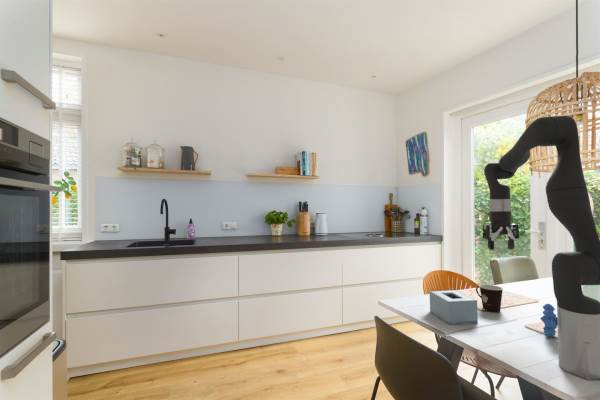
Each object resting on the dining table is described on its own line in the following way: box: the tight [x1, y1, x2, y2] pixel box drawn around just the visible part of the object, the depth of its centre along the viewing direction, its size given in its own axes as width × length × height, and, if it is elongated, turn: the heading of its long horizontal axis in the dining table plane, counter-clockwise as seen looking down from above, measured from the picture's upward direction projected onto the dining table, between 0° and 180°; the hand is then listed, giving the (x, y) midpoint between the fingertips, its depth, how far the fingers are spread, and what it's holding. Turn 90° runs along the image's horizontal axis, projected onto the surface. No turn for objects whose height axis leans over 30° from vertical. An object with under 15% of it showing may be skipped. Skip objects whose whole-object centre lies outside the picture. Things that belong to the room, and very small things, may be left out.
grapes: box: [540, 303, 558, 338], centre depth 103 cm, size 12×7×12 cm, turn 142°
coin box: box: [429, 289, 479, 325], centre depth 123 cm, size 14×12×9 cm
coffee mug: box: [475, 284, 503, 314], centre depth 132 cm, size 12×9×10 cm
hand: (501, 249), depth 122 cm, fingers open, 8 cm apart
